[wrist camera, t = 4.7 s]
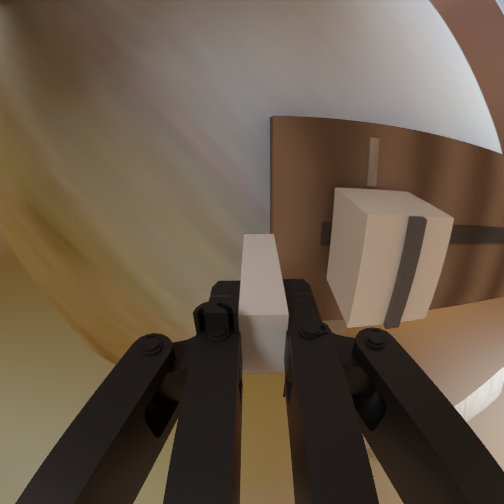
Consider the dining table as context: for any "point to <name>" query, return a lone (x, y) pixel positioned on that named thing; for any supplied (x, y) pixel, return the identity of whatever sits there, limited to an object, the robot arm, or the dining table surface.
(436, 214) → the fader knob
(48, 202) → the dining table surface
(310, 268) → the fader panel
